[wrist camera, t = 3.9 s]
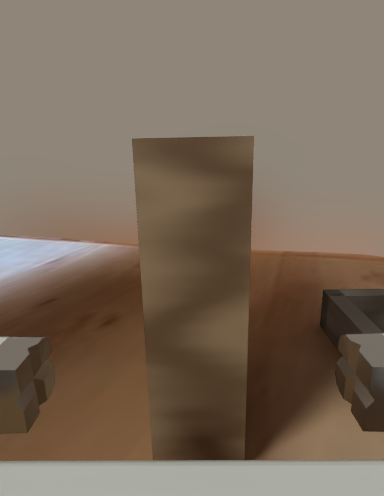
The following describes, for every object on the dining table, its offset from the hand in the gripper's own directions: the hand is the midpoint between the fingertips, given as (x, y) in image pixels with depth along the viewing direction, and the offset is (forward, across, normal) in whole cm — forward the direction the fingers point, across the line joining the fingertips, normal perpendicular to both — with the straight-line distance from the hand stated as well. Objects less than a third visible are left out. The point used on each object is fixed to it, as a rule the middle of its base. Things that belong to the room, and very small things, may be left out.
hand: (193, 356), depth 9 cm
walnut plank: (+8, 0, +8) cm, 12 cm away
